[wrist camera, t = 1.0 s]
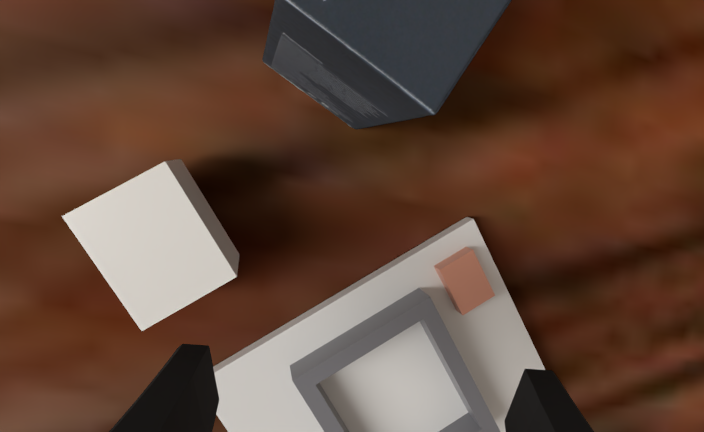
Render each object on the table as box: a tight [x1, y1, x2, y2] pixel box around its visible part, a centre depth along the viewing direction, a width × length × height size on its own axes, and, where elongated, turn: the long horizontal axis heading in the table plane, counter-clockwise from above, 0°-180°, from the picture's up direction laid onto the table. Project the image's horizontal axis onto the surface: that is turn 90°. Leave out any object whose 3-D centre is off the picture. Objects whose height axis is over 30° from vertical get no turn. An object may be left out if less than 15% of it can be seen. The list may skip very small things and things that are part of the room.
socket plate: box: [213, 217, 545, 432], centre depth 25 cm, size 16×12×2 cm
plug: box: [62, 159, 239, 331], centre depth 20 cm, size 4×5×5 cm
